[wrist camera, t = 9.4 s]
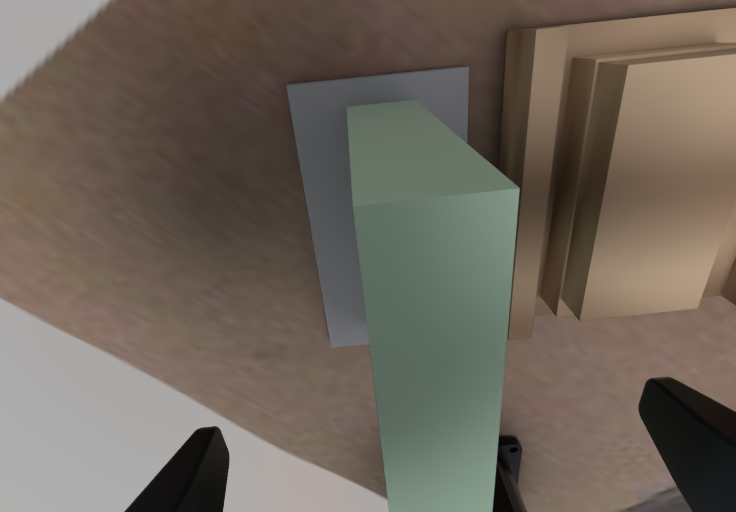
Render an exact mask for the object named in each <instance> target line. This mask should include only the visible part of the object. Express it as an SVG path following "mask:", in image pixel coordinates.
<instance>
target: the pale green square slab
mask: <svg viewBox="0 0 736 512" xmlns="http://www.w3.org/2000/svg"><path fill="white" fill-rule="evenodd" d="M347 122H348V138H349V154H350V169H351V185H352V201H353V212H354V220H355V229H356V237H357V245H358V254H359V262H360V271H361V279H362V287H363V296H364V304H365V313H366V321H367V329H368V338H369V346H370V355H371V363H372V371H373V380H374V388H375V397H376V405H377V413H378V422H379V430H380V439H381V447H382V456H383V464H384V472H385V481H386V489H387V498H388V506H389V512H492V511H493V499H494V487H495V476H496V464H497V452H498V440H499V428H500V416H501V405H502V393H503V381H504V369H505V357H506V345H507V334H508V322H509V310H510V298H511V286H512V274H513V263H514V251H515V239H516V227H517V215H518V203H519V192H520V188H519V187H518V186H517V185H515V184H514V183H513V182H512V181H511V180H510V179H508V178H507V177H506V176H505V175H504V174H502V173H501V172H500V171H499V170H498V169H496V168H495V167H494V166H493V165H492V164H491V163H489V162H488V161H487V160H486V159H485V158H483V157H482V156H481V155H480V154H479V153H478V152H476V151H475V150H474V149H473V148H472V147H470V146H469V145H468V144H467V143H466V142H465V141H463V140H462V139H461V138H460V137H459V136H457V135H456V134H455V133H454V132H453V131H452V130H450V129H449V128H448V127H447V126H446V125H444V124H443V123H442V122H441V121H440V120H439V119H437V118H436V117H435V116H434V115H433V114H431V113H430V112H429V111H428V110H427V109H425V108H424V107H423V106H422V105H421V104H420V103H418V102H417V101H416V100H406V101H396V102H387V103H378V104H368V105H359V106H350V107H347Z"/></svg>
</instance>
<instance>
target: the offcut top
mask: <svg viewBox="0 0 736 512" xmlns="http://www.w3.org/2000/svg"><path fill="white" fill-rule="evenodd" d="M735 201H736V48H734V49H724V50H714V51H705V52H695V53H685V54H676V55H666V56H656V57H647V58H637V59H627V60H618V61H608V62H599V66H598V73H597V79H596V85H595V91H594V98H593V104H592V110H591V116H590V123H589V129H588V135H587V141H586V148H585V154H584V160H583V167H582V173H581V179H580V185H579V192H578V198H577V204H576V210H575V217H574V223H573V229H572V235H571V242H570V248H569V254H568V260H567V267H566V273H565V279H564V285H563V292H562V298H561V299H562V301H563V302H564V303H565V304H566V305H567V307H568V308H569V309H570V310H571V311H572V312H573V314H574V315H575V316H576V317H577V318H578V320H579V321H584V320H593V319H602V318H612V317H621V316H630V315H640V314H649V313H658V312H668V311H677V310H686V309H695V308H698V306H699V303H700V300H701V297H702V294H703V291H704V289H705V286H706V283H707V280H708V277H709V274H710V272H711V269H712V266H713V263H714V260H715V257H716V255H717V252H718V249H719V246H720V243H721V240H722V238H723V235H724V232H725V229H726V226H727V223H728V221H729V218H730V215H731V212H732V209H733V206H734V204H735Z"/></svg>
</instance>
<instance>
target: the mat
mask: <svg viewBox="0 0 736 512" xmlns="http://www.w3.org/2000/svg"><path fill="white" fill-rule="evenodd" d="M286 88H287V93H288V99H289V105H290V111H291V117H292V123H293V128H294V134H295V140H296V146H297V152H298V158H299V163H300V169H301V175H302V181H303V187H304V193H305V198H306V204H307V210H308V216H309V222H310V228H311V233H312V239H313V245H314V251H315V257H316V263H317V268H318V274H319V280H320V286H321V292H322V298H323V303H324V309H325V315H326V321H327V327H328V333H329V338H330V344H331V348H338V347H347V346H357V345H366V344H369V338H368V329H367V321H366V313H365V304H364V296H363V287H362V279H361V271H360V262H359V254H358V245H357V237H356V229H355V220H354V212H353V201H352V185H351V169H350V154H349V138H348V122H347V107H350V106H359V105H368V104H378V103H387V102H396V101H406V100H416V101H417V102H418V103H420V104H421V105H422V106H423V107H424V108H425V109H427V110H428V111H429V112H430V113H431V114H433V115H434V116H435V117H436V118H437V119H439V120H440V121H441V122H442V123H443V124H444V125H446V126H447V127H448V128H449V129H450V130H452V131H453V132H454V133H455V134H456V135H457V136H459V137H460V138H461V139H462V140H463V141H465V142H466V143H467V136H468V94H469V67H467V66H459V67H449V68H439V69H430V70H420V71H410V72H401V73H391V74H381V75H372V76H362V77H352V78H342V79H333V80H323V81H313V82H304V83H294V84H288V85H287V86H286Z"/></svg>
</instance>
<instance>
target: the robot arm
mask: <svg viewBox="0 0 736 512" xmlns="http://www.w3.org/2000/svg"><path fill="white" fill-rule="evenodd" d="M639 414H640V416H641V419H642V421H643V423H644V424H645V426H646V428H647V430H648V432H649V434H650V436H651V438H652V440H653V442H654V444H655V445H656V447H657V449H658V451H659V453H660V455H661V457H662V459H663V461H664V463H665V465H666V466H667V468H668V470H669V472H670V474H671V476H672V478H673V480H674V481H675V483H676V485H677V487H678V489H679V490H680V492H681V494H682V495H683V497H684V498H685V500H686V502H687V503H688V505H689V506H690V508H691V509H692V511H693V512H736V412H735V411H733V410H731V409H729V408H727V407H726V406H724V405H722V404H720V403H718V402H716V401H714V400H713V399H711V398H709V397H707V396H705V395H703V394H701V393H700V392H698V391H696V390H694V389H692V388H690V387H688V386H687V385H685V384H683V383H681V382H679V381H677V380H675V379H673V378H671V377H658V378H651V379H649V380H647V381H646V383H645V386H644V390H643V393H642V396H641V399H640V402H639ZM521 453H522V447H521V444H520V442H519V441H518V440H517V439H505V440H498V452H497V464H496V476H495V487H494V499H493V511H492V512H527V510H526V508H525V505H524V503H523V500H522V498H521V495H520V492H519V490H518V487H517V483H518V476H519V468H520V461H521ZM228 469H229V451H228V448H227V446H226V443H225V441H224V438H223V435H222V433H221V430H220V429H219V428H218V427H216V426H214V427H204V428H200V429H197V430H196V431H195V432H194V433H193V434H192V435H191V436H190V438H189V439H188V440H187V441H186V442H185V443H184V445H182V447H181V448H180V449H179V450H178V451H177V452H176V453H175V455H174V456H173V457H172V458H171V459H170V460H169V462H168V463H167V464H166V465H165V466H164V467H163V468H162V469H161V471H160V472H159V473H158V474H157V475H156V476H155V477H154V479H153V480H152V481H151V482H150V483H149V484H148V486H147V487H146V488H145V489H144V490H143V491H142V492H141V493H140V495H139V496H138V497H137V498H136V499H135V500H134V501H133V502H132V504H131V505H130V506H129V507H128V508H127V509H126V510H125V512H223V507H224V499H225V492H226V484H227V476H228Z"/></svg>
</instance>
